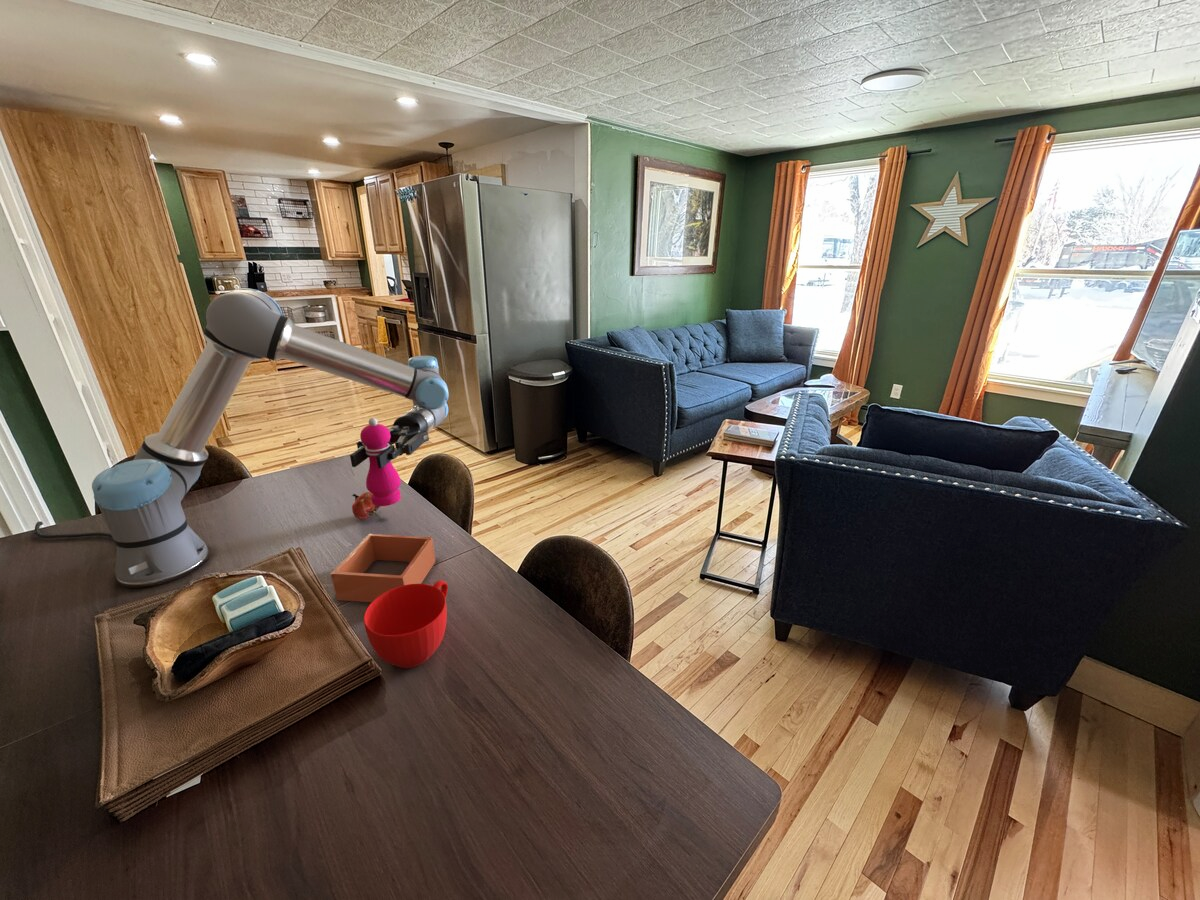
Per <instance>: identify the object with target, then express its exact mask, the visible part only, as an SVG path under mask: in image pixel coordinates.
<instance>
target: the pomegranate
mask: <svg viewBox="0 0 1200 900" xmlns="http://www.w3.org/2000/svg"><path fill="white" fill-rule="evenodd" d="M371 494H372V493H371V492H369V491H366V492H363V493H361V494H360V495H357V494H356V493H353V494H352V495H351V497H354V502H353V503H352V504H351V511H352V514H353V516H354V517H355V518H357V519H358V520H362V521H367V519H369V517H370V516H373V515H375V516H377V517H378V518H379V519H381V521H382V520H384V519H383V518H382V517H381V516H380V515H379V514H378V513H377V512H378V511H379V508H380V507H381V506H376V505H374V504H373V503H372V501H371Z"/></svg>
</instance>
